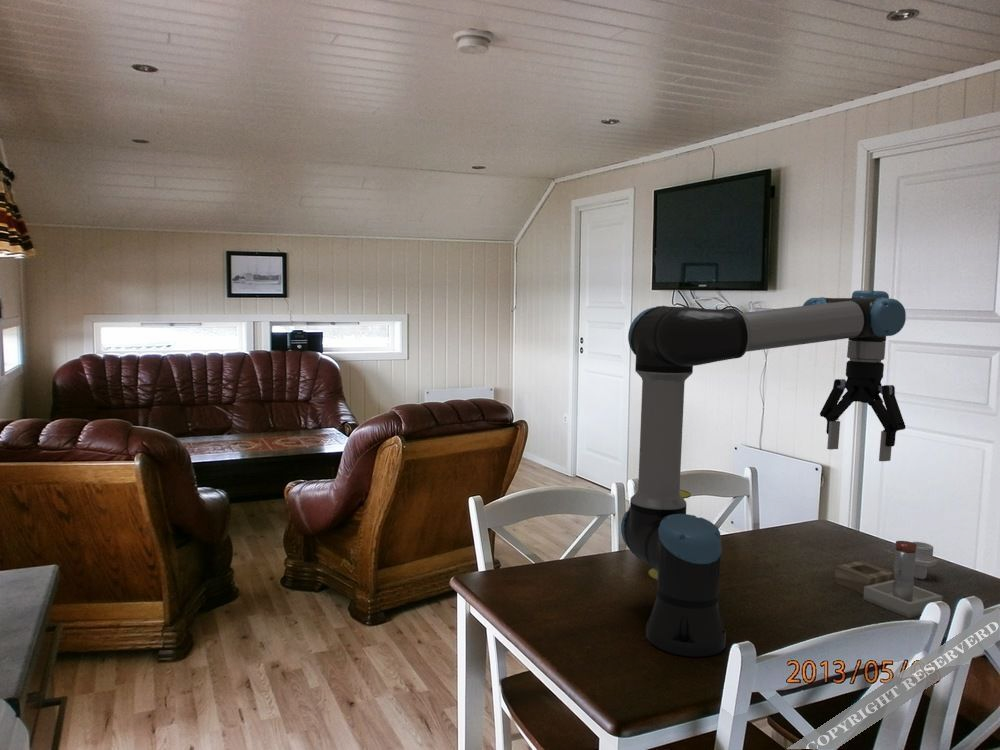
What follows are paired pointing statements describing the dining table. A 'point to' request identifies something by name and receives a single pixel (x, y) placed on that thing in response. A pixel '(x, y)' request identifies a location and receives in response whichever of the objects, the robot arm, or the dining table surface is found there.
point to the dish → (884, 598)
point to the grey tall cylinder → (904, 570)
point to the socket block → (861, 575)
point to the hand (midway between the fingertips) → (857, 454)
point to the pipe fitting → (923, 559)
